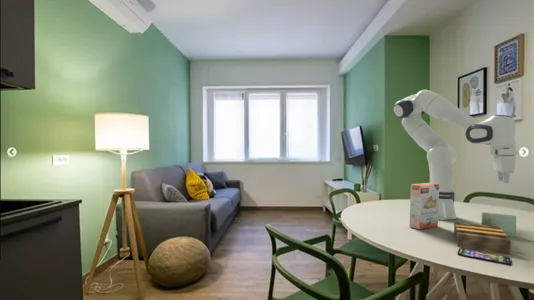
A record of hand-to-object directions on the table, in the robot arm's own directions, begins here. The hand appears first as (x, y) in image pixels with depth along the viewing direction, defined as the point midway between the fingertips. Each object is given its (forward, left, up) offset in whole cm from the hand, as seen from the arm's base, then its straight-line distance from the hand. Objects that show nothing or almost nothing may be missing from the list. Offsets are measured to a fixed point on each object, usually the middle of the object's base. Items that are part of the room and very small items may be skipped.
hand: (503, 181), depth 130 cm
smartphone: (-12, -38, -24) cm, 46 cm away
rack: (-11, -20, -23) cm, 32 cm away
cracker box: (-31, -6, -24) cm, 39 cm away
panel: (-2, -2, -23) cm, 23 cm away
